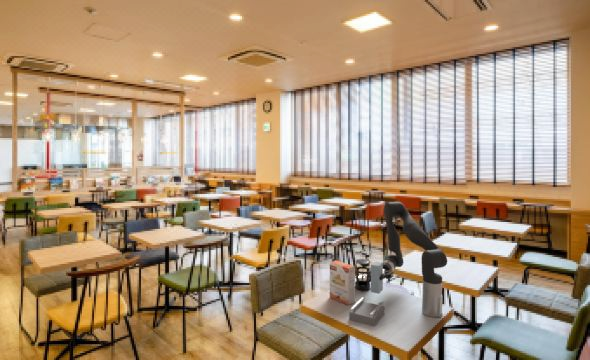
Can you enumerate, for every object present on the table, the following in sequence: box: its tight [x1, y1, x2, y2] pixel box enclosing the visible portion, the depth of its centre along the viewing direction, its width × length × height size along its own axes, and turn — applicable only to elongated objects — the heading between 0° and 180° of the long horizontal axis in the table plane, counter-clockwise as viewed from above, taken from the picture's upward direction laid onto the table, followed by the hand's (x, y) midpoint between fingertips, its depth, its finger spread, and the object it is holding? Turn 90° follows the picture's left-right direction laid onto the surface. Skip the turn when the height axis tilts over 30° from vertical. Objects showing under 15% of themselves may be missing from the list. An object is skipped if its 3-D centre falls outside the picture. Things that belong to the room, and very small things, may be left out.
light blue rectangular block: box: [370, 261, 384, 295], centre depth 187 cm, size 4×6×15 cm
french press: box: [355, 250, 371, 292], centre depth 212 cm, size 12×9×23 cm
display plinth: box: [348, 297, 385, 327], centre depth 177 cm, size 13×15×6 cm
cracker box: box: [329, 260, 356, 306], centre depth 196 cm, size 14×6×21 cm, turn 42°
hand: (375, 277), depth 186 cm, fingers closed on light blue rectangular block, 4 cm apart
